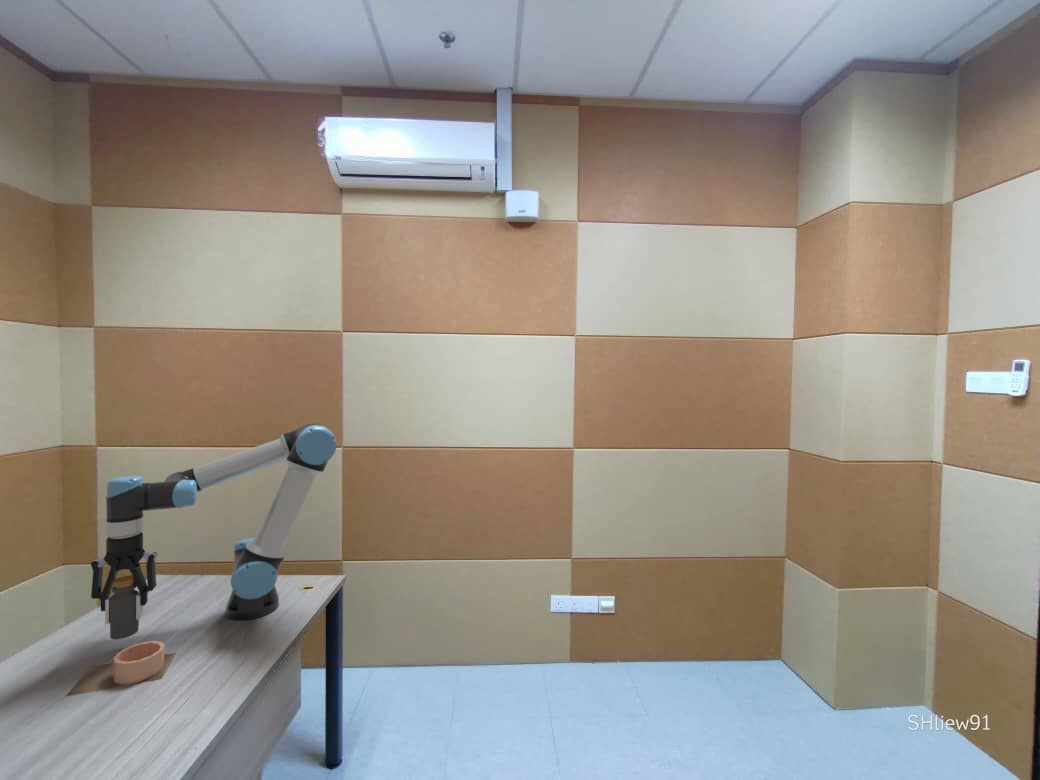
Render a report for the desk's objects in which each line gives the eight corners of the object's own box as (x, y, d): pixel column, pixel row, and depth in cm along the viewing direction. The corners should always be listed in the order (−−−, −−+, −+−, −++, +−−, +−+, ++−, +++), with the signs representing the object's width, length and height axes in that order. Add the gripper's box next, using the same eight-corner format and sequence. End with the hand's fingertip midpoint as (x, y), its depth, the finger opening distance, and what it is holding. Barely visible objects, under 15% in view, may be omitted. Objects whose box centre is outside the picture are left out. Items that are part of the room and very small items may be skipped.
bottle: (121, 640, 118) (121, 584, 118) (104, 638, 120) (104, 582, 120) (144, 629, 124) (144, 575, 124) (127, 626, 125) (127, 573, 125)
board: (176, 656, 121) (176, 652, 122) (161, 682, 110) (161, 678, 110) (90, 670, 114) (90, 666, 114) (65, 700, 103) (65, 696, 103)
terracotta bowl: (168, 657, 119) (169, 638, 119) (156, 679, 110) (156, 658, 110) (122, 665, 115) (123, 645, 115) (105, 688, 106) (106, 666, 106)
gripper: (171, 526, 129) (171, 606, 129) (86, 534, 121) (86, 619, 122) (163, 534, 122) (162, 619, 122) (72, 543, 115) (71, 633, 115)
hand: (124, 619), depth 122 cm, fingers closed on bottle, 6 cm apart
